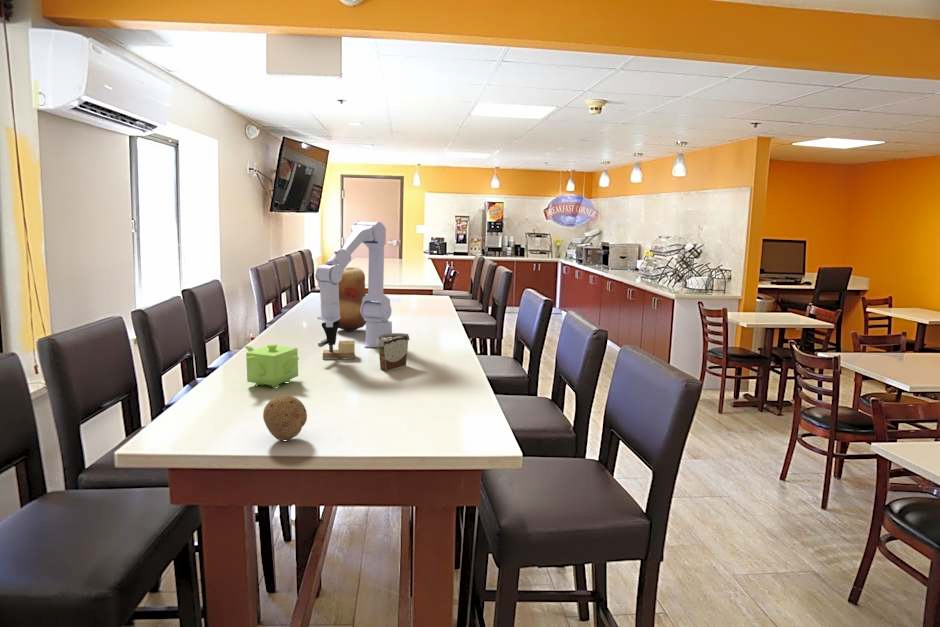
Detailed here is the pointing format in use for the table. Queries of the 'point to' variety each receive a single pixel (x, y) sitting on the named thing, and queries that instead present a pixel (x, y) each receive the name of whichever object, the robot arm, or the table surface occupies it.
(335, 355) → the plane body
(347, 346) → the tan wooden block
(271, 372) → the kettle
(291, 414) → the natural sponge
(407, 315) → the table surface
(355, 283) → the butternut squash
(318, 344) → the lever
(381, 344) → the food container
